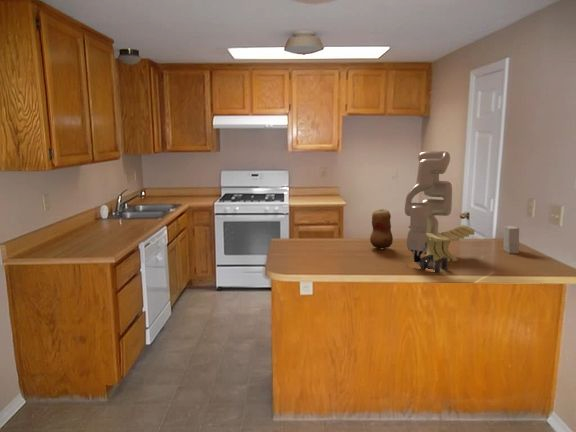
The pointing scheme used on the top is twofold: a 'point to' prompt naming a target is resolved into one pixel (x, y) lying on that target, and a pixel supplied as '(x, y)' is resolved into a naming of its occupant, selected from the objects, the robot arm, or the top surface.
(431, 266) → the tube
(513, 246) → the skincare box
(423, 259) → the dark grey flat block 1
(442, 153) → the robot arm
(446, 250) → the slatted curved stool
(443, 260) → the dark angular blocks
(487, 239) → the top surface
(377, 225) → the butternut squash
